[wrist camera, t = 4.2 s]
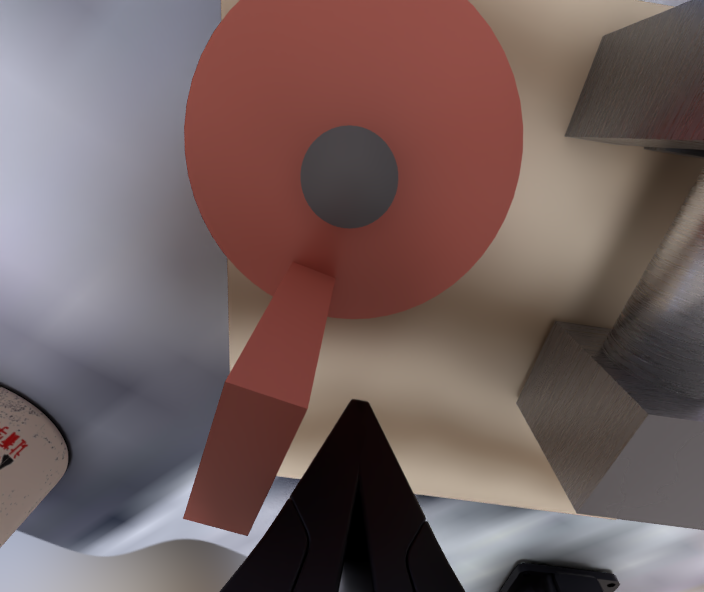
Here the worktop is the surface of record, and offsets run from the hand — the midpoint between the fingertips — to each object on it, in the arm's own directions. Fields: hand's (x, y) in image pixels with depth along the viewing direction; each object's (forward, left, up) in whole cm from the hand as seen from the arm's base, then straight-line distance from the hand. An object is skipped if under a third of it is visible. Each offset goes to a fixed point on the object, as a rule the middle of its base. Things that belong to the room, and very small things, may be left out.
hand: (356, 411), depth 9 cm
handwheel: (+4, +1, -4) cm, 6 cm away
